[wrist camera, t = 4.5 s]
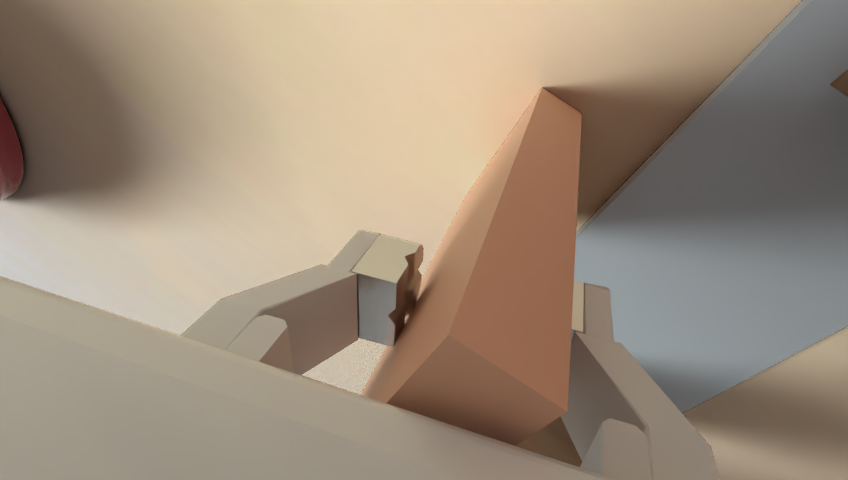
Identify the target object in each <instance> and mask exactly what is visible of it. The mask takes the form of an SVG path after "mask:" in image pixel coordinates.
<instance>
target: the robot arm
mask: <svg viewBox="0 0 848 480" xmlns="http://www.w3.org/2000/svg"><path fill="white" fill-rule="evenodd" d="M423 249H424V248H423V246H422V244H418V243H414V242H411V241H407V240H403V239H399V238H395V237H391V236H388V235H384V234H380V233H376V232H372V231H367V230H359V231H358V232H357V233H356V234H355V235H354V236H353V237H352V239H351V240H350V241H349V242H348V243H347V244H346V245H345V247H344V248H343V249H342V250H341V251H340V252H339V253H338V255H337V256H336V257H335V258H334V259H333V260H332V261H331V263H330V264H329V265H328V266H326V265H322V264H321V265H319V266H316V267H313V268H310V269H307V270H304V271H301V272H298V273H295V274H292V275H289V276H286V277H283V278H281V279H278V280H275V281H272V282H269V283H266V284H263V285H260V286H257V287H254V288H251V289H248V290H245V291H243V292H240V293H237V294H234V295H231V296H228V297H225V298H222V299H220V300H219V301H218V302H217V303H216V304H215V305H214V306H212V307H211V308H210V309H209V310H208V311H207V312H206V313H205V314H204V315H202V316H201V317H200V318H199V319H198V320H197V321H196V322H195V323H194V324H193V325H191V326H190V327H189V328H188V329H187V330H186V331H185V332H184V333H183V334H181V335H177V334H174V333H171V332H168V331H165V330H162V329H159V328H156V327H153V326H150V325H147V324H144V323H141V322H138V321H135V320H132V319H129V318H126V317H123V316H120V315H117V314H114V313H111V312H108V311H105V310H102V309H99V308H96V307H93V306H90V305H86V304H83V303H80V302H77V301H74V300H71V299H68V298H65V297H62V296H59V295H56V294H53V293H50V292H47V291H44V290H41V289H38V288H35V287H32V286H29V285H26V284H23V283H20V282H17V281H14V280H11V279H8V278H5V277H2V276H0V480H719V476H718V472H717V468H716V464H715V460H714V456H713V453H712V449H711V446H710V445H709V444H708V443H707V442H706V440H705V439H704V438H703V437H702V436H701V435H700V434H699V432H698V431H697V430H696V429H695V428H694V427H693V425H692V424H691V423H690V422H689V421H688V420H687V419H686V417H685V416H684V415H683V414H682V413H681V412H680V410H679V409H678V408H677V407H676V406H675V405H674V403H673V402H672V401H671V400H670V399H669V398H668V397H667V395H666V394H665V393H664V392H663V391H662V390H661V388H660V387H659V386H658V385H657V384H656V383H655V382H654V380H653V379H652V378H651V377H650V376H649V375H648V373H647V372H646V371H645V370H644V369H643V368H642V367H641V365H640V364H639V363H638V362H637V361H636V360H635V358H634V357H633V356H632V355H631V354H630V353H629V351H628V350H627V349H626V348H625V347H624V346H623V345H622V344H621V343H618V342H615V341H614V336H613V323H612V309H611V296H610V290H609V288H608V287H603V286H598V285H593V284H589V283H584V282H583V283H581V282H577V281H574V288H573V309H572V329H571V350H570V371H569V391H568V412H566V413H565V414H563V415H562V416H561V418H562V421H563V423H564V425H565V427H566V429H567V431H568V433H569V435H570V437H571V439H572V441H573V443H574V446H575V448H576V450H577V452H578V454H579V456H580V458H581V460H582V464H581V466H580V467H578V466H574V465H571V464H568V463H565V462H562V461H559V460H556V459H553V458H550V457H547V456H544V455H541V454H538V453H535V452H532V451H529V450H526V449H523V448H520V447H517V446H514V445H511V444H508V443H505V442H502V441H499V440H496V439H493V438H490V437H487V436H484V435H481V434H478V433H475V432H472V431H469V430H466V429H463V428H460V427H457V426H454V425H451V424H448V423H444V422H441V421H438V420H435V419H432V418H429V417H426V416H423V415H420V414H417V413H414V412H411V411H408V410H405V409H402V408H399V407H396V406H393V405H390V404H387V403H384V402H381V401H378V400H375V399H372V398H369V397H366V396H362V395H359V394H356V393H353V392H350V391H347V390H344V389H341V388H338V387H335V386H332V385H329V384H326V383H323V382H320V381H317V380H314V379H311V378H308V377H305V376H302V374H304V373H305V372H307V371H308V370H310V369H312V368H313V367H315V366H316V365H318V364H320V363H321V362H323V361H324V360H326V359H328V358H329V357H331V356H332V355H334V354H336V353H337V352H339V351H341V350H342V349H344V348H345V347H347V346H349V345H350V344H352V343H353V342H355V341H357V340H358V338H361V339H365V340H369V341H373V342H376V343H380V344H384V345H388V346H391V347H393V346H394V345H395V343H396V341H397V339H398V337H399V335H400V333H401V331H402V329H403V327H404V325H405V316H407V315H409V314H410V313H411V311H412V309H413V307H414V305H415V303H416V301H417V298H418V295H419V291H420V286H421V277H422V275H421V274H420V272H419V271H418V268H419V266H420V265H421V263H422V261H423Z"/></svg>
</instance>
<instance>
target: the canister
mask: <svg viewBox="0 0 848 480" xmlns="http://www.w3.org/2000/svg"><path fill="white" fill-rule="evenodd" d="M23 170H24V163H23V155H22V150H21V146H20V142H19V139H18V136H17V133H16V130H15V128H14V125H13V123H12V121H11V118H10V116H9V114H8V112H7V110H6V108H5V106H4V104H3V102H2V100H1V99H0V201H1V200H2V199H4V198H6V197H8V196H10V195H12V194H14V193H15V192H16V191H17V190H18V188H19V186H20V185H21V182H22V178H23Z"/></svg>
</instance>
